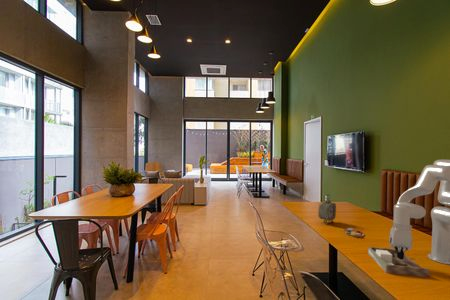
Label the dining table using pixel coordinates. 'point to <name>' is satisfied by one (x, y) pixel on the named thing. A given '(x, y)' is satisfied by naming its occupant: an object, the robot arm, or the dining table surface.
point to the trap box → (398, 264)
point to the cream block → (384, 255)
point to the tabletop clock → (327, 210)
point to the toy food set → (354, 232)
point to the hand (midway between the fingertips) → (400, 258)
